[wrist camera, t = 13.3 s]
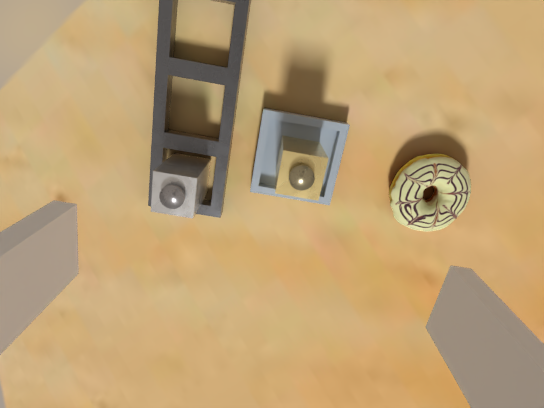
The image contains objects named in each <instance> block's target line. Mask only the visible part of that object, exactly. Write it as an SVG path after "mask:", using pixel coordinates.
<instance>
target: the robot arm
mask: <svg viewBox="0 0 544 408" xmlns="http://www.w3.org/2000/svg"><path fill="white" fill-rule="evenodd" d="M77 275H78V234H77V204H73V203H67V202H61V201H55V200H54V201H52V202H50V203H49V204H47V205H45V206H44V207H42V208H40V209H39V210H37V211H35V212H33V213H32V214H30V215H28V216H27V217H25V218H23V219H22V220H20V221H18V222H17V223H15V224H13V225H12V226H10V227H8V228H7V229H5V230H3V231H2V232H0V355H1V354H2V353H3V352H4V350H5V349H6V348H7V347H8V346H9V345H10V344H11V343H12V342H13V341H14V340H15V339H16V338H17V337H18V336H19V335H20V334H21V333H22V332H23V331H24V330H25V329H26V328H27V327H28V326H29V324H30V323H31V322H32V321H33V320H34V319H35V318H36V317H37V316H38V315H39V314H40V313H41V312H42V311H43V310H44V309H45V308H46V307H47V306H48V305H49V304H50V303H51V302H52V301H53V300H54V299H55V297H56V296H57V295H58V294H59V293H60V292H61V291H62V290H63V289H64V288H65V287H66V286H67V285H68V284H69V283H70V282H71V281H72V280H73V279H74V278H75V277H76V276H77ZM426 329H427V331H428V333H429V334H430V336H431V338H432V340H433V341H434V343H435V345H436V347H437V348H438V350H439V352H440V354H441V355H442V357H443V359H444V361H445V362H446V364H447V366H448V368H449V369H450V371H451V373H452V375H453V376H454V378H455V380H456V382H457V384H458V385H459V387H460V389H461V391H462V392H463V394H464V396H465V398H466V399H467V401H468V403H469V405H470V406H471V408H544V344H543V343H542V342H541V341H540V340H539V339H538V338H537V337H536V336H535V335H534V334H533V332H532V331H531V330H530V329H529V328H528V327H527V326H526V325H525V324H524V323H523V322H522V321H521V320H520V319H519V318H518V317H517V316H516V315H515V314H514V313H513V312H512V311H511V310H510V309H509V307H508V306H507V305H506V304H505V303H504V302H503V301H502V300H501V299H500V298H499V297H498V296H497V295H496V294H495V293H494V292H493V291H492V290H491V289H490V288H489V287H488V286H487V285H486V284H485V282H484V281H483V280H482V279H481V278H480V277H479V276H478V275H477V274H476V273H475V272H474V271H473V270H472V269H470V268H464V267H458V266H452V265H451V266H450V268H449V271H448V273H447V276H446V278H445V281H444V283H443V285H442V288H441V290H440V293H439V295H438V298H437V300H436V303H435V305H434V308H433V310H432V312H431V315H430V317H429V320H428V322H427V325H426Z"/></svg>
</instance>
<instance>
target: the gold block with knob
mask: <svg viewBox="0 0 544 408" xmlns="http://www.w3.org/2000/svg"><path fill="white" fill-rule="evenodd" d="M328 159H329V158H328V156H327V154H326V153H325V151H324V149H323V147H322V146H321V144H320V142H317V141H311V140H305V139H300V138H294V137H289V136H283V135H282V139H281V145H280V150H279V156H278V161H277V166H276V172H275V193H276V194H282V195H287V196H293V197H299V198H305V199H311V200H317V201H319V197H320V192H321V188H322V184H323V180H324V176H325V172H326V167H327V163H328Z"/></svg>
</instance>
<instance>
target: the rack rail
mask: <svg viewBox="0 0 544 408" xmlns="http://www.w3.org/2000/svg"><path fill="white" fill-rule="evenodd" d="M213 1H218V2H223V3H228V4H233V5H235V11H234V19H233V27H232V36H231V44H230V52H229V60H228V68H227V67H222V66H216V65H211V64H206V63H200V62H195V61H190V60H184V59H179V58H174V45H175V31H176V17H177V2H178V0H159V16H158V35H157V53H156V72H155V90H154V109H153V128H152V146H151V165H150V183H149V202H148V206H151V199H152V180H153V171H154V170H155V169H156V168H157V167H158V166H159V165H161V164H162V163H163V162H164V161H165V160H167V148H169V149H174V150H180V151H186V152H192V153H197V154H203V155H209V156H215V157H217V159H216V167H215V176H214V184H213V192H212V200H205V199H204V200H203V201H202V203H201V205H200V207H199V209H198V211H197V212H196V214H201V215H207V216H213V217H219V218H220V217H221V215H222V211H223V204H224V197H225V189H226V182H227V174H228V167H229V159H230V152H231V145H232V137H233V130H234V122H235V115H236V108H237V100H238V93H239V85H240V78H241V70H242V63H243V56H244V48H245V41H246V33H247V26H248V19H249V11H250V4H251V0H213ZM172 76H177V77H183V78H188V79H194V80H199V81H205V82H210V83H215V84H221V85H225V93H224V101H223V110H222V118H221V126H220V134H219V138H213V137H207V136H202V135H196V134H190V133H185V132H179V131H173V130H169V117H170V102H171V88H172Z"/></svg>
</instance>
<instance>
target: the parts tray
mask: <svg viewBox="0 0 544 408" xmlns="http://www.w3.org/2000/svg"><path fill="white" fill-rule="evenodd" d="M349 126H350V125H349V124H348V123H346V122H340V121H335V120H329V119H324V118H318V117H313V116H307V115H302V114H296V113H291V112H285V111H280V110H274V109H269V108H264V109H263V115H262V121H261V127H260V133H259V139H258V146H257V152H256V158H255V164H254V170H253V177H252V183H251V189H250V192H254V193H260V194H266V195H272V196H278V197H284V198H290V199H295V200H301V201H307V202H313V203H319V204H325V205H330V202H331V198H332V194H333V190H334V186H335V182H336V178H337V174H338V170H339V166H340V162H341V158H342V154H343V150H344V146H345V142H346V138H347V134H348V130H349ZM282 135H283V136H289V137H294V138H300V139H305V140H311V141H317V142H320V144H321V146H322V147H323V149H324V151H325V153H326V154H327V156H328V158H329V159H328V163H327V167H326V172H325V176H324V180H323V184H322V188H321V192H320V197H319V201H317V200H311V199H305V198H299V197H293V196H287V195H282V194H276V193H275V172H276V166H277V161H278V156H279V150H280V145H281V139H282Z"/></svg>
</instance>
